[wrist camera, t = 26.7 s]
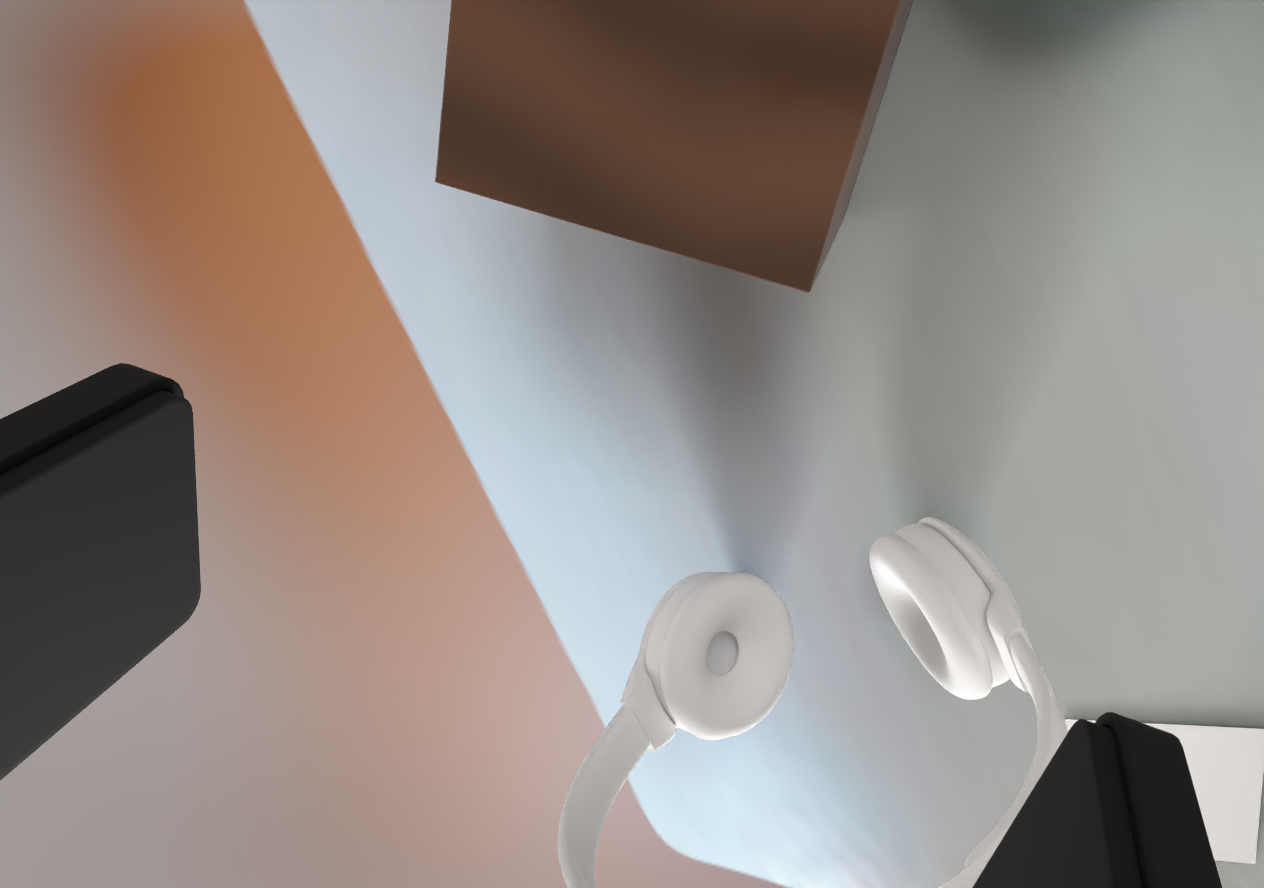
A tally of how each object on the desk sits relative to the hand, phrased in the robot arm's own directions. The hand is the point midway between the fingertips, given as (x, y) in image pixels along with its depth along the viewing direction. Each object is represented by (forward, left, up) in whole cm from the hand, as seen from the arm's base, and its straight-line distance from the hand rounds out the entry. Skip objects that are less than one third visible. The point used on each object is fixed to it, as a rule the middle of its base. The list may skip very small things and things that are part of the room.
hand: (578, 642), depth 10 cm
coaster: (-22, +24, -30) cm, 44 cm away
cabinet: (+6, -4, -30) cm, 31 cm away
